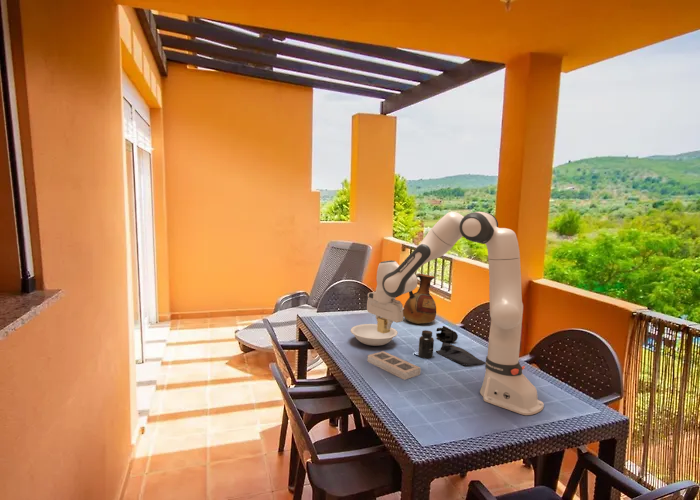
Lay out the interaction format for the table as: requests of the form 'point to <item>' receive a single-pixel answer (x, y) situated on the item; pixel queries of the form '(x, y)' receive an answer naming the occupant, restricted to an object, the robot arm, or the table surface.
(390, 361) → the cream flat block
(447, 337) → the end cap
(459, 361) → the dark slate chunk
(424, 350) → the supplement bottle
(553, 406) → the table surface
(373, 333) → the soup bowl
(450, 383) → the table surface
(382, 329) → the golden yellow block
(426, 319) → the ceramic pitcher
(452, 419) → the table surface
